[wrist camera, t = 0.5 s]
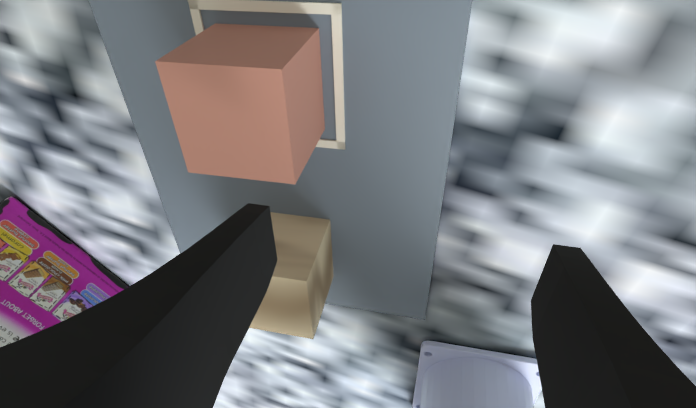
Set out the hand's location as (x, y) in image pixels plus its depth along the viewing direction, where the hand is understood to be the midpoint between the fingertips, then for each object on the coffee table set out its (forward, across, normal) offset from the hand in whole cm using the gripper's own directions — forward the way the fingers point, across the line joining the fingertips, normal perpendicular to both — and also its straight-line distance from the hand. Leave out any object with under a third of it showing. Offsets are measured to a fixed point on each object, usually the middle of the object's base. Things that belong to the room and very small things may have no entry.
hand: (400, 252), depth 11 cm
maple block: (+9, +7, +9) cm, 15 cm away
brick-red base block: (+9, +7, -1) cm, 11 cm away
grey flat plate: (+9, +7, +4) cm, 12 cm away
